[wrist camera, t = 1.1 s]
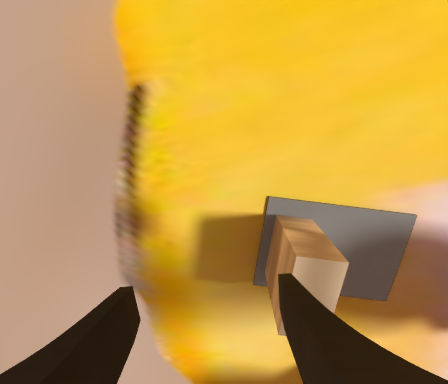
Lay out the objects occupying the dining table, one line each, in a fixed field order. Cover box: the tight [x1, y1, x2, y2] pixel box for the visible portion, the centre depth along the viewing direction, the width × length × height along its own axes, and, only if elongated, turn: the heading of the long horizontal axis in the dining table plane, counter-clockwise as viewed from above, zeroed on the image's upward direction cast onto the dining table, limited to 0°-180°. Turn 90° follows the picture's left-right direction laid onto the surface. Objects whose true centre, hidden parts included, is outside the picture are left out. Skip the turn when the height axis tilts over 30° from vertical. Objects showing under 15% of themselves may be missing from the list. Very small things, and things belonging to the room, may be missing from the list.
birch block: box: [265, 215, 349, 336], centre depth 19 cm, size 3×6×7 cm, turn 173°
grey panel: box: [253, 196, 417, 301], centre depth 22 cm, size 13×9×1 cm
